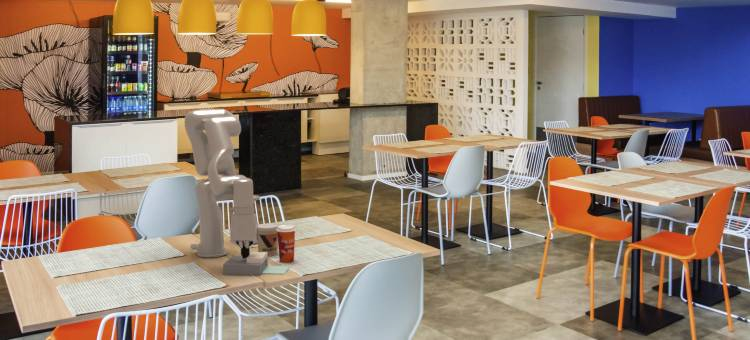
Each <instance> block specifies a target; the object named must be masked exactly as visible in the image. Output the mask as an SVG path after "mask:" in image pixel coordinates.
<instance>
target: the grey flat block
mask: <svg viewBox="0 0 750 340" xmlns="http://www.w3.org/2000/svg"><path fill="white" fill-rule="evenodd" d="M268 257H269V256H268ZM268 257H267V259H266V260H265V261H264V262H263V263H262V264H261V263H247V259H245V258H244V259H243V258H242V256H241V255H239V254H238V255H231V256H230V257H229V258H228V259H227V260H226V261H225V262H223V264H222V270H223V274H222V275H224V276H225V275H226V276H261V275H262V274H261V273H262V272H263V270H264V269H265V268H266V267H267V266H269V265H268V264H269V263H268V262H269V261H268Z"/></svg>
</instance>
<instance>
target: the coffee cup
mask: <svg viewBox="0 0 750 340" xmlns="http://www.w3.org/2000/svg"><path fill="white" fill-rule="evenodd" d="M278 226H279V225H278V224H277V223H260V224H259V223H258V239H259V242H258V244H257V250H258V251H257V252H268V257H272V256H273V255H274V256H276V255H278V252H279V246H278V234H277V231H276V230H277V227H278Z"/></svg>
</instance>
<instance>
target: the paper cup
mask: <svg viewBox="0 0 750 340" xmlns="http://www.w3.org/2000/svg"><path fill="white" fill-rule="evenodd" d="M296 230H297V229H296V228H295V225H293V224H282V225H278V227H277V230H276V231H277V234H278V255H279V262H280V263H285V264H286V263H294V261H295V244H296V243H295V240H296V239H295V237H296Z"/></svg>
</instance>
